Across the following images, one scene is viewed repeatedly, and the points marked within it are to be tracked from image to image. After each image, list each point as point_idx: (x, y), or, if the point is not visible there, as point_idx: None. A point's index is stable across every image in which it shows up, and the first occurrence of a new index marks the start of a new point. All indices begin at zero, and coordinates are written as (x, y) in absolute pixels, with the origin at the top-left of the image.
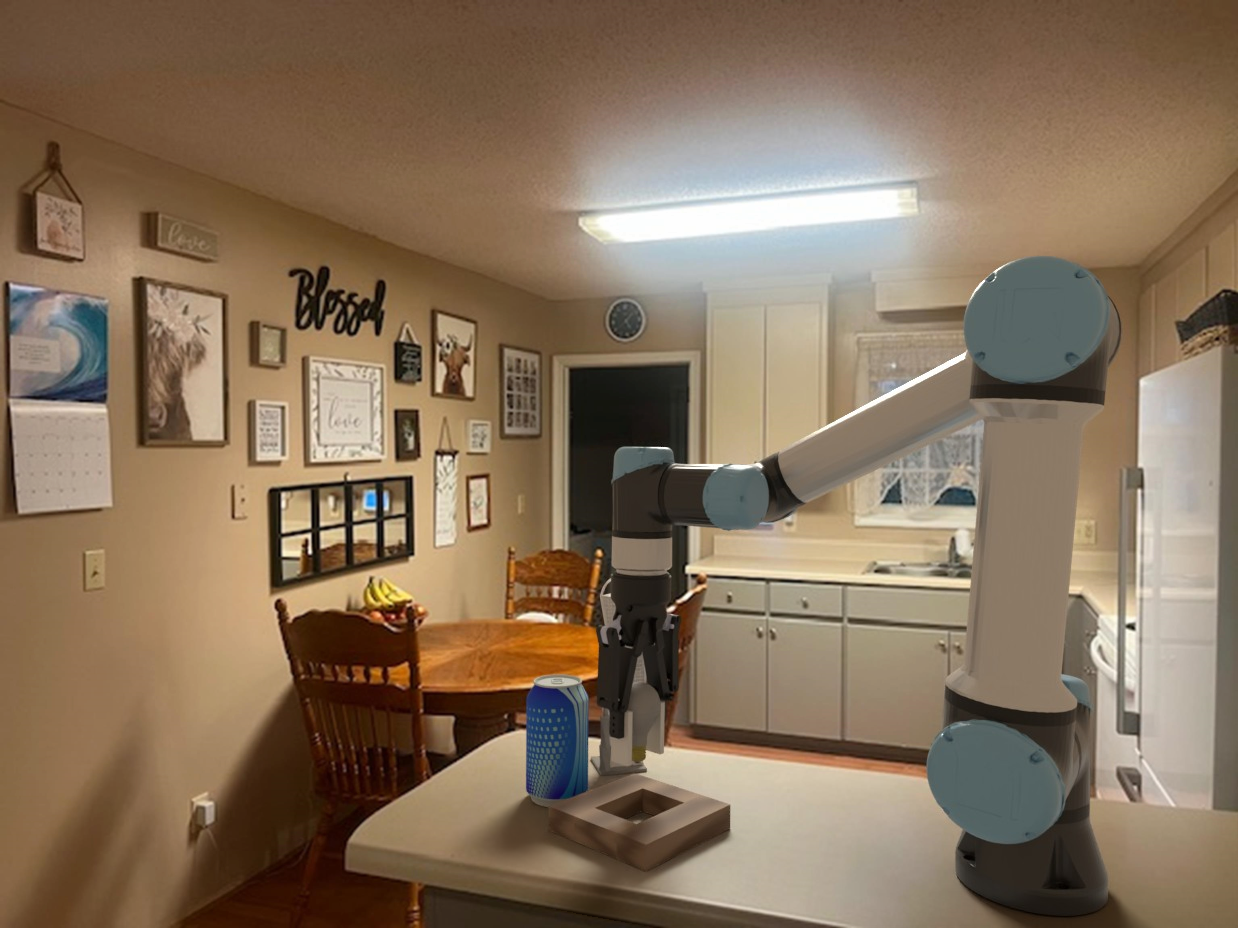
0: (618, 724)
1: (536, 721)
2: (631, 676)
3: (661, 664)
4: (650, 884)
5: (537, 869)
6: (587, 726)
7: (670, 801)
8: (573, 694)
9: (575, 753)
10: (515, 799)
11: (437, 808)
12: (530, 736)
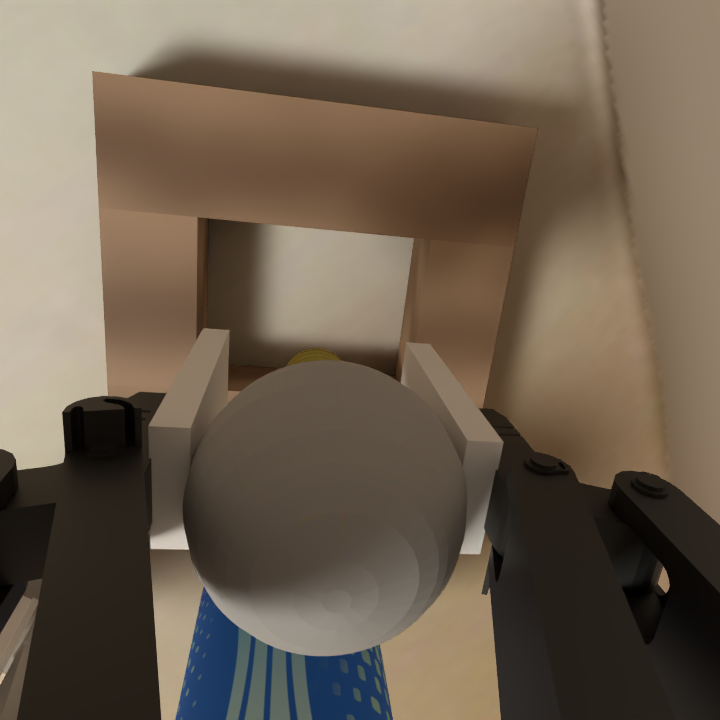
0: (521, 440)
1: None
2: (576, 604)
3: (92, 644)
4: (562, 77)
5: (623, 345)
6: (229, 675)
7: (199, 274)
8: None
9: None
10: None
11: (492, 678)
12: None
